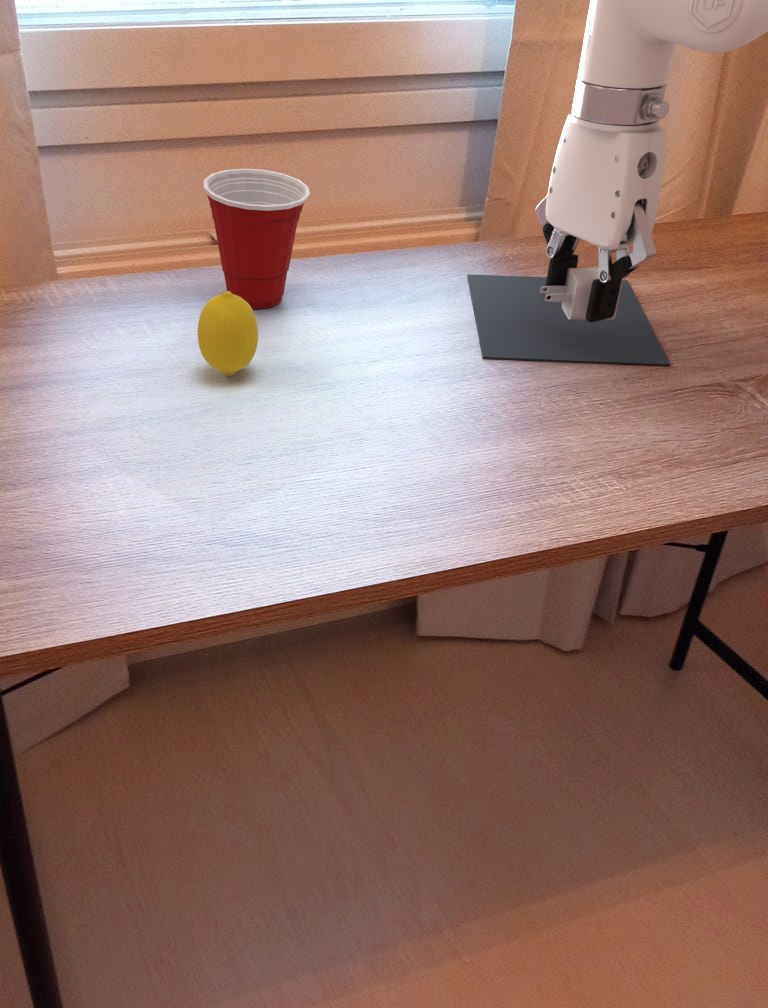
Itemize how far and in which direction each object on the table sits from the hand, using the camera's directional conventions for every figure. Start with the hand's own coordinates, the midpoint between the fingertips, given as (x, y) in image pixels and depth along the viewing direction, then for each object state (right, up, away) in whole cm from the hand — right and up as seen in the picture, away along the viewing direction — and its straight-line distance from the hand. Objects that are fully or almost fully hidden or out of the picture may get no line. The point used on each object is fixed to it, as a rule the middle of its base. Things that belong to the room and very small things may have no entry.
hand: (578, 306), depth 100 cm
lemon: (-34, -8, -4) cm, 35 cm away
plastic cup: (-32, +4, +10) cm, 34 cm away
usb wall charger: (0, -1, +1) cm, 1 cm away
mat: (0, +1, +7) cm, 8 cm away
